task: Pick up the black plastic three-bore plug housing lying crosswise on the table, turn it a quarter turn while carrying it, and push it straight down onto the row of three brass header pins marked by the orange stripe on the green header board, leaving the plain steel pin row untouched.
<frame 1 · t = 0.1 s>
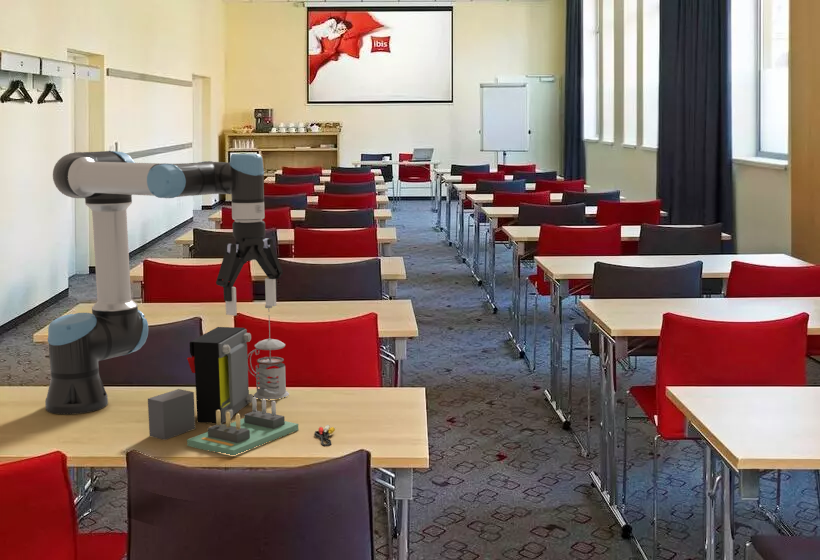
hand: (251, 310, 225), 28 cm above the table, tool pointing down, fingers open, 13 cm apart
plug housing: (172, 432, 223), on the table
french press: (268, 395, 254), on the table
header board: (244, 437, 219), on the table
composite cable: (323, 441, 218), on the table
electrical component: (223, 413, 239), on the table
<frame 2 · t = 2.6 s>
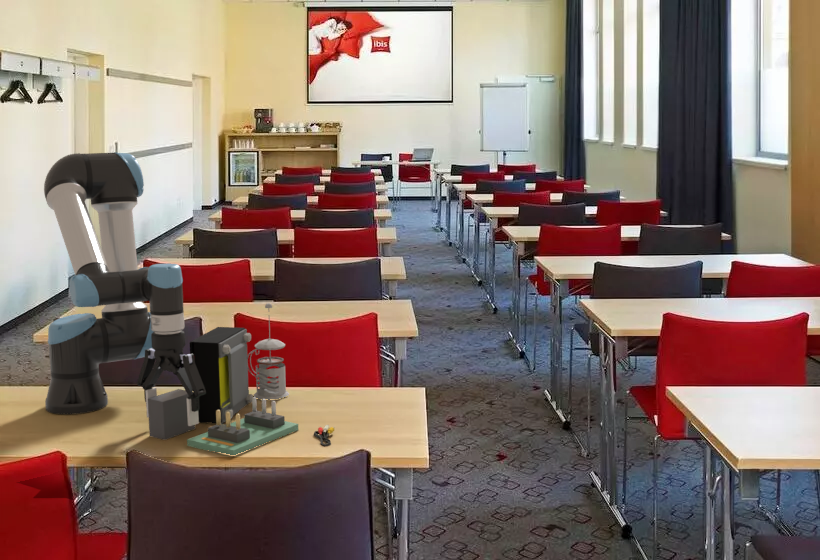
hand: (172, 420, 223), 3 cm above the table, tool pointing down, fingers open, 13 cm apart
nothing on the table moved.
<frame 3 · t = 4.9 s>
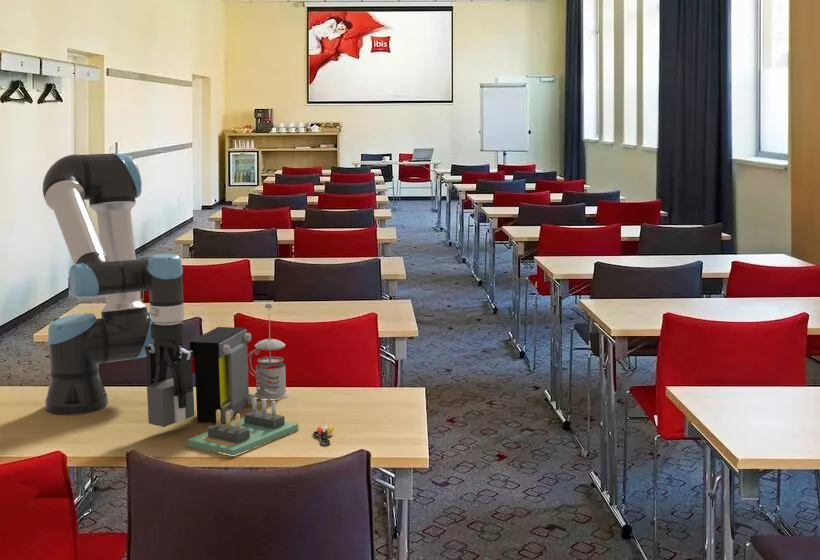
hand: (171, 418, 223), 3 cm above the table, tool pointing down, fingers closed on plug housing, 5 cm apart
plug housing: (171, 419, 223), point 3 cm above the table, touching gripper
everything else where it was.
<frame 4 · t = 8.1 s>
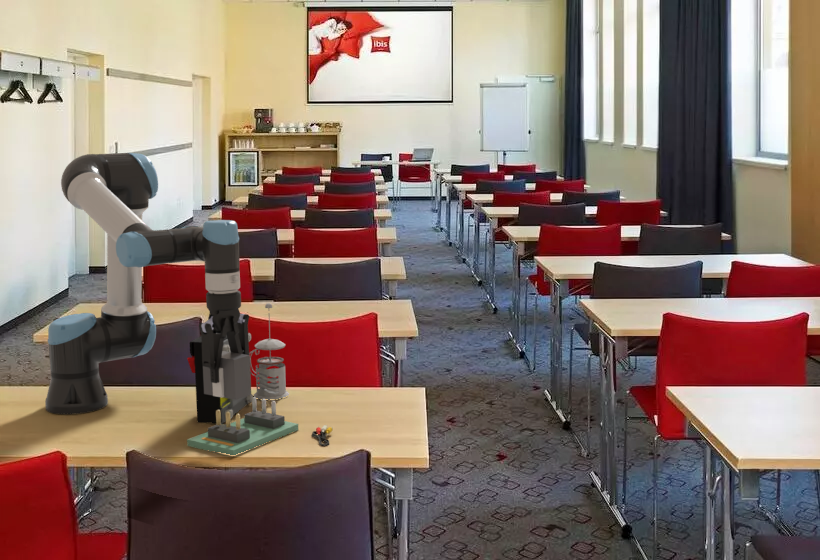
hand: (227, 393, 213), 12 cm above the table, tool pointing down, fingers closed on plug housing, 5 cm apart
plug housing: (227, 394, 213), point 12 cm above the table, touching gripper
everything else where it was.
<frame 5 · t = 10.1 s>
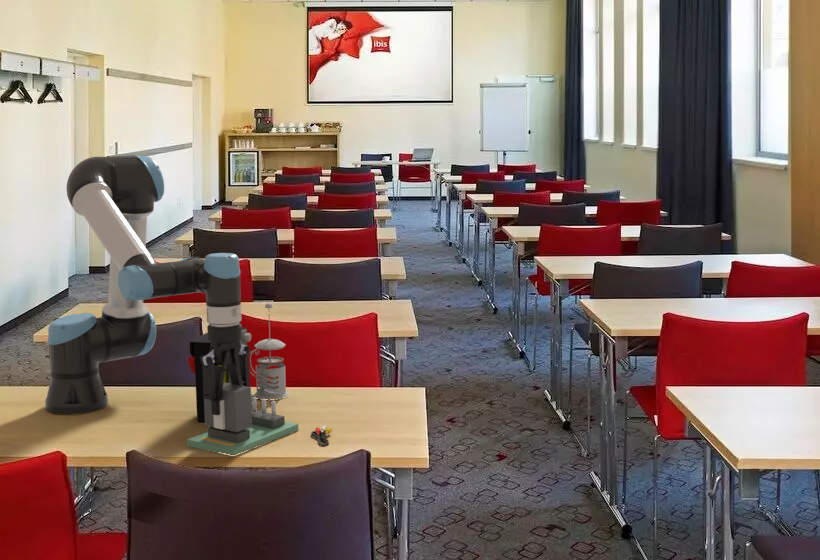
hand: (228, 424, 214), 5 cm above the table, tool pointing down, fingers closed on plug housing, 5 cm apart
plug housing: (228, 425, 214), point 4 cm above the table, touching gripper
everything else where it was.
when the fingers open (3 cm above the table, at t = 11.7 s): plug housing stays where it is, resting on header board.
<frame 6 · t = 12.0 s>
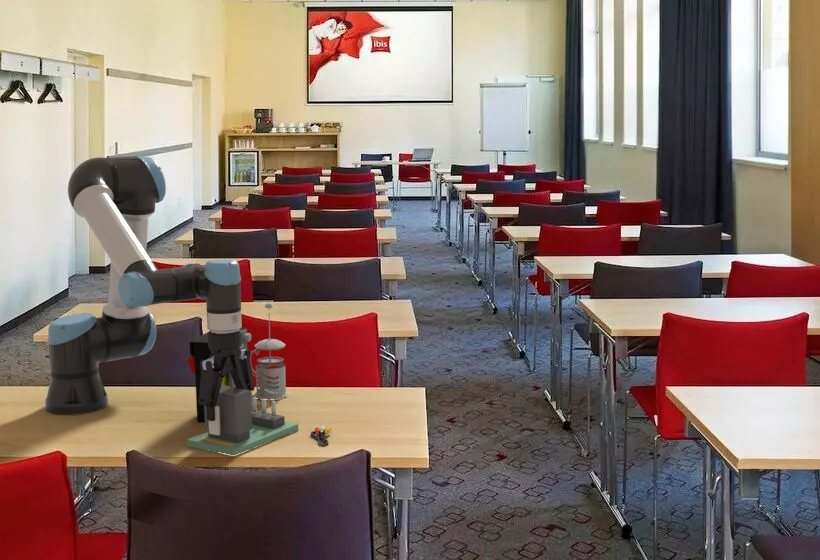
hand: (228, 428, 214), 4 cm above the table, tool pointing down, fingers open, 8 cm apart
plug housing: (228, 428, 214), point 3 cm above the table, touching header board
everything else where it was.
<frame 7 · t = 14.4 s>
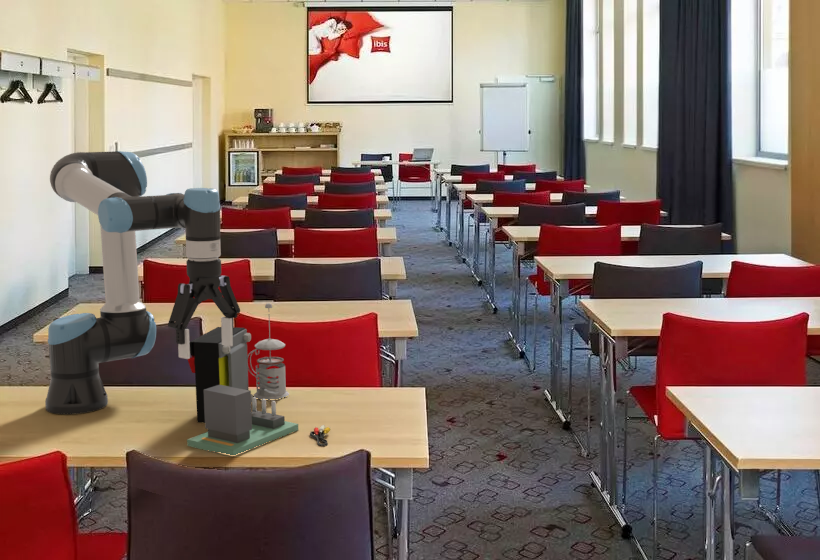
hand: (206, 351, 215), 21 cm above the table, tool pointing down, fingers open, 13 cm apart
nothing on the table moved.
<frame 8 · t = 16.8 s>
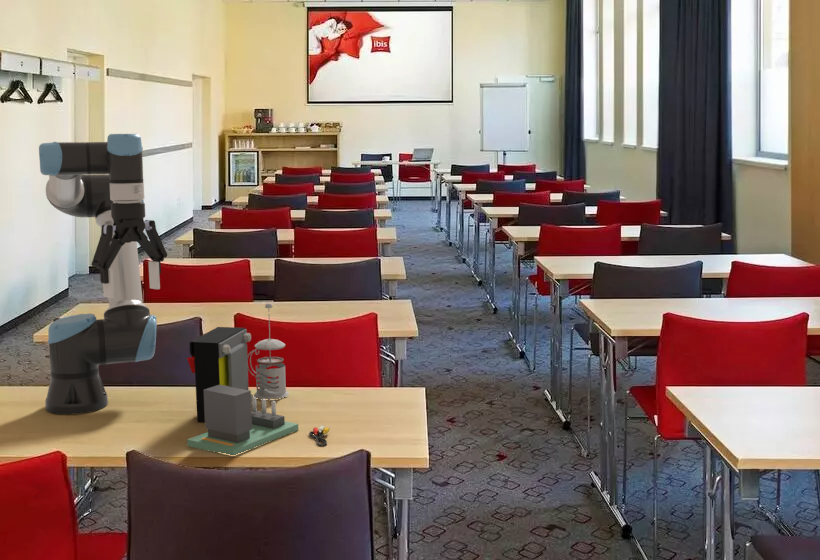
hand: (132, 293, 221), 33 cm above the table, tool pointing down, fingers open, 13 cm apart
at the end: plug housing 0.0 cm from the target spot on the header board, point 3.5 cm above the header board's base; plug housing tilted 0°; the gripper is holding nothing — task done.
